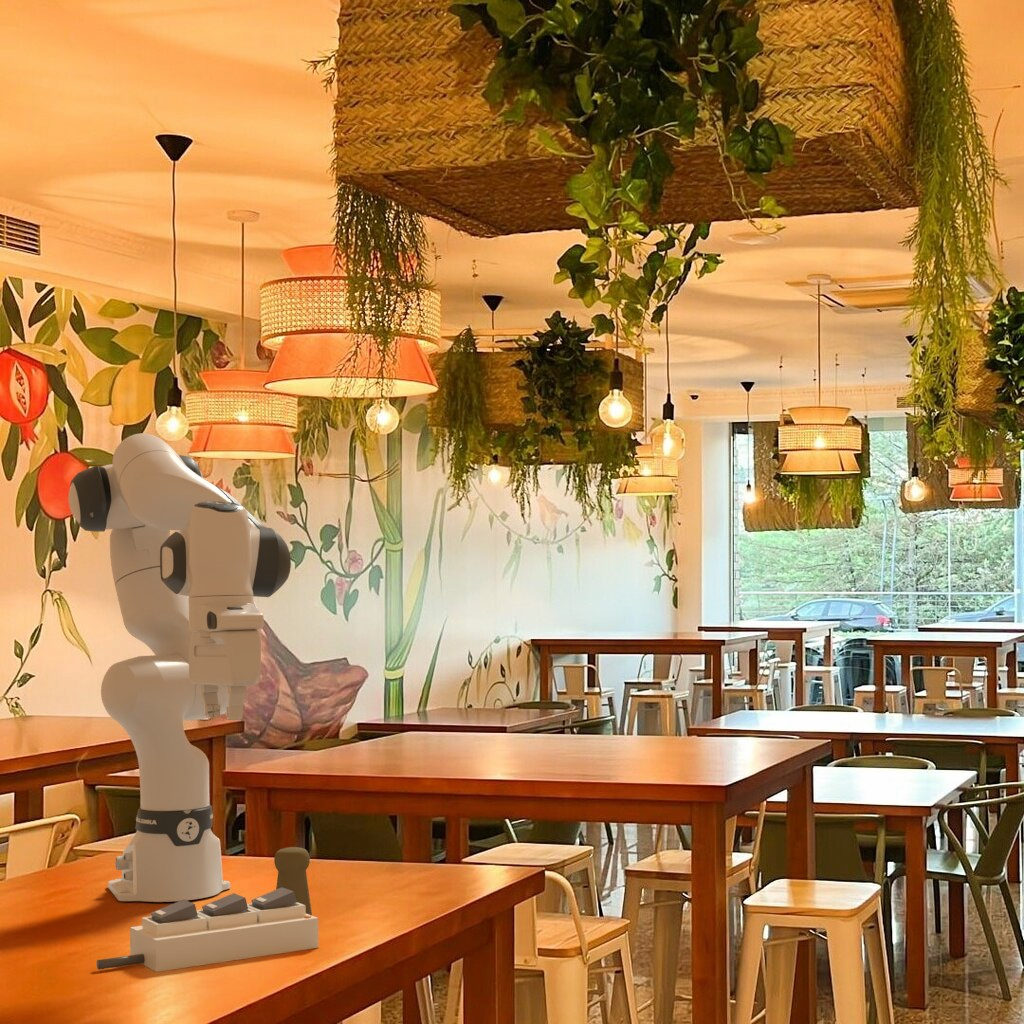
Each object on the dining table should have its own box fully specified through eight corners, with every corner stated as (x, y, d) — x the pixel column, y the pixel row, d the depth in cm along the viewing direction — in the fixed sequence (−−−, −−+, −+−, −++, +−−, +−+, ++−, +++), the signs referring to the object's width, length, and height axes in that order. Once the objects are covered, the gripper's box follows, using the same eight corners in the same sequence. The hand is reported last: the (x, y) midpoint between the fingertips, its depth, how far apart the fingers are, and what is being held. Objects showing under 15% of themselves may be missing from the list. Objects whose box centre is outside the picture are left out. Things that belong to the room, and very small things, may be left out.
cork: (315, 918, 231) (314, 844, 231) (311, 927, 225) (310, 850, 225) (274, 919, 231) (273, 845, 231) (269, 928, 224) (268, 851, 225)
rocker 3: (254, 911, 214) (250, 899, 214) (284, 898, 216) (281, 886, 216) (265, 915, 210) (262, 903, 210) (296, 902, 213) (293, 890, 213)
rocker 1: (153, 924, 206) (150, 911, 206) (186, 910, 209) (183, 898, 208) (164, 929, 203) (160, 916, 203) (197, 915, 205) (194, 902, 205)
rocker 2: (204, 917, 210) (201, 905, 210) (236, 904, 213) (233, 892, 212) (216, 922, 207) (212, 910, 206) (248, 908, 209) (245, 896, 209)
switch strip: (86, 963, 204) (85, 921, 204) (287, 934, 220) (287, 895, 220) (110, 978, 195) (110, 934, 196) (318, 947, 211) (318, 906, 212)
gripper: (176, 619, 220) (178, 717, 219) (222, 616, 203) (224, 722, 202) (219, 618, 223) (221, 714, 222) (268, 615, 206) (270, 720, 205)
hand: (223, 718), depth 212 cm, fingers open, 8 cm apart
